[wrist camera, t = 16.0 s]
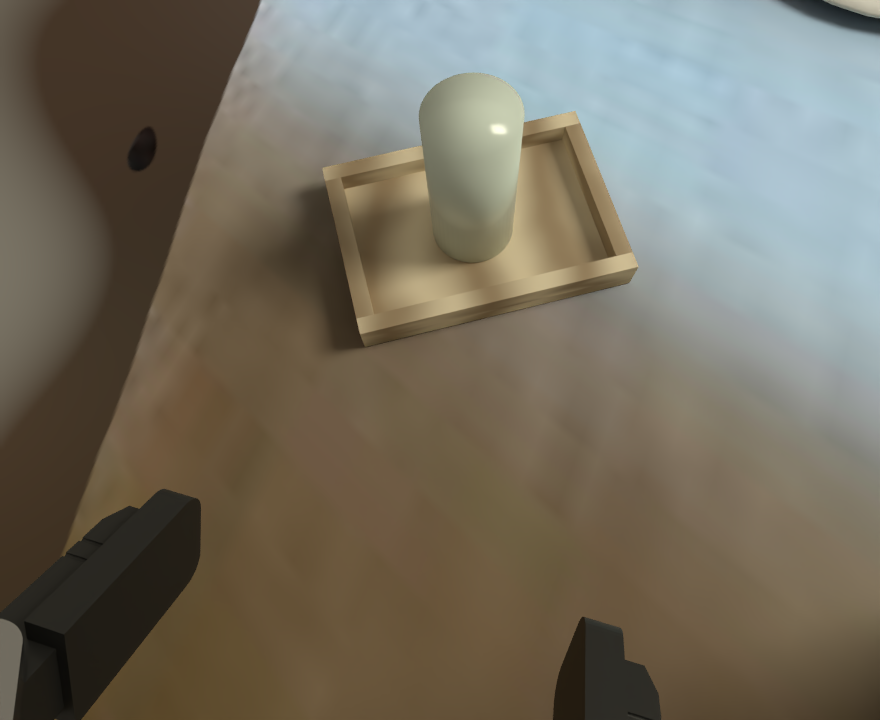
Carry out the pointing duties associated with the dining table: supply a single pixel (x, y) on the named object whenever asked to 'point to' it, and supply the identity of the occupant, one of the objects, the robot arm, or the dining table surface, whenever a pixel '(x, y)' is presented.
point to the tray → (488, 282)
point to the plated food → (859, 6)
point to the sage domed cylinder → (472, 163)
